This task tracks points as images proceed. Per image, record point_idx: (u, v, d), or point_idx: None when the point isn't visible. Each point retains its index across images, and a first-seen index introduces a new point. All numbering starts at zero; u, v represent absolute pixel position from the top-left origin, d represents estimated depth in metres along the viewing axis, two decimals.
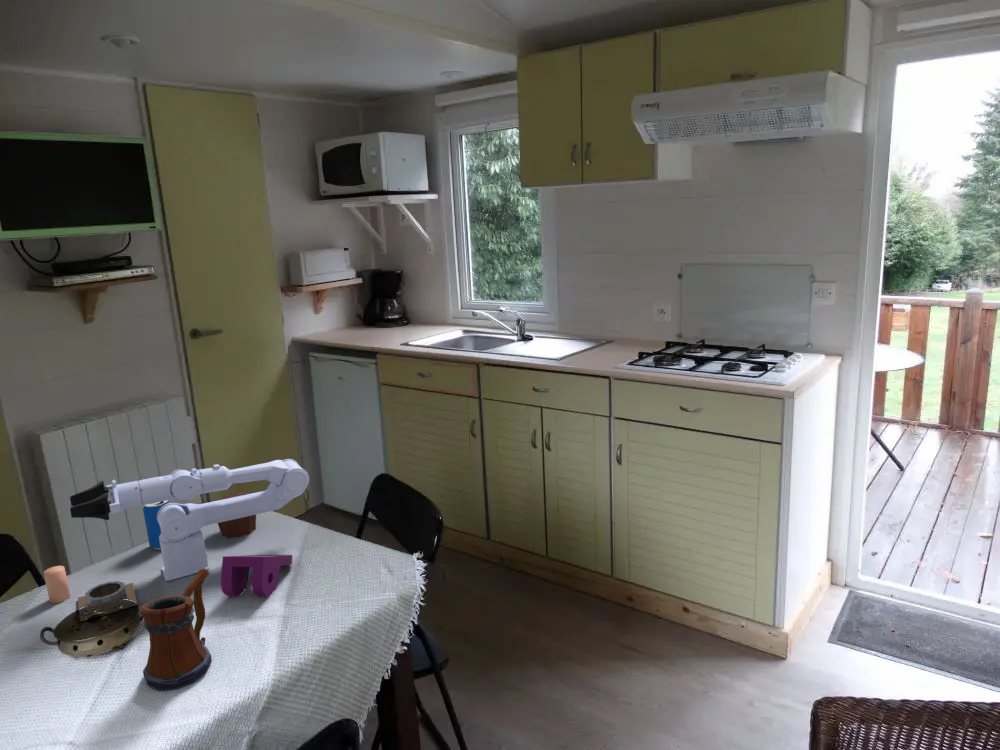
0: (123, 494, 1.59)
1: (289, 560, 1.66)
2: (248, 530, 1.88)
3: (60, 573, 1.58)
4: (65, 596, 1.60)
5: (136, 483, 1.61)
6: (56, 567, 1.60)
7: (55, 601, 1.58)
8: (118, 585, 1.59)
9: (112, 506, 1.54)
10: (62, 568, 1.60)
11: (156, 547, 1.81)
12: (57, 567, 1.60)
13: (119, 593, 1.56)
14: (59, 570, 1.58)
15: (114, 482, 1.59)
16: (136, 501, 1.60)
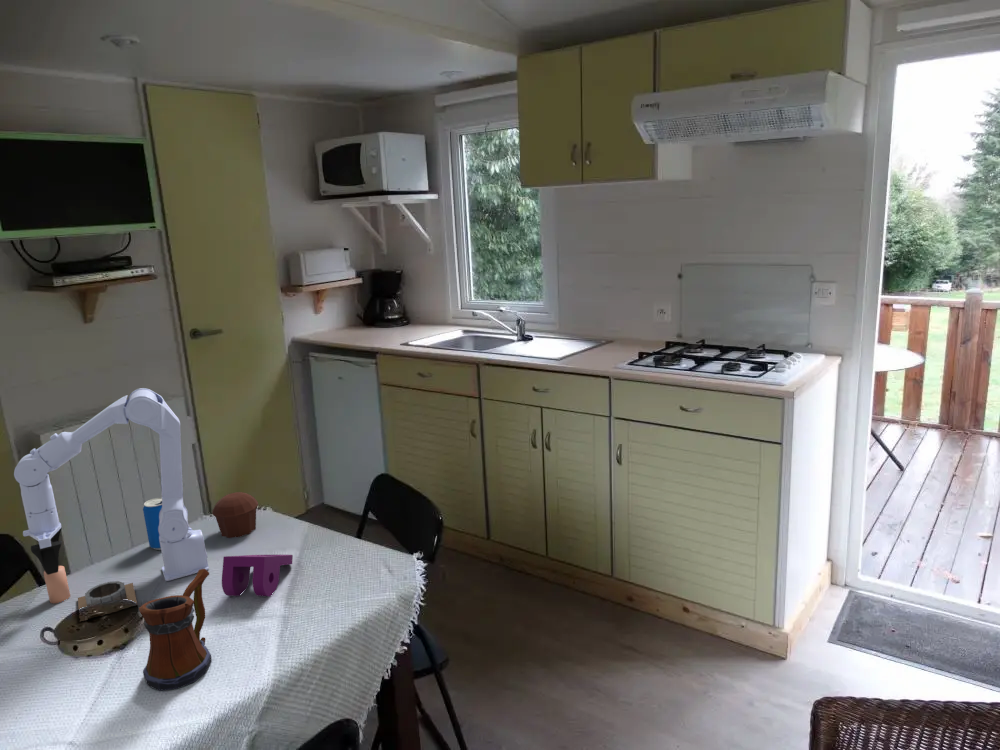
0: (36, 528, 1.54)
1: (290, 560, 1.66)
2: (248, 530, 1.88)
3: (60, 573, 1.58)
4: (65, 596, 1.60)
5: (26, 515, 1.54)
6: None
7: (55, 601, 1.58)
8: (118, 585, 1.59)
9: (41, 546, 1.51)
10: (62, 568, 1.60)
11: (156, 547, 1.81)
12: None
13: (119, 593, 1.56)
14: (59, 570, 1.58)
15: (23, 534, 1.54)
16: (46, 516, 1.54)
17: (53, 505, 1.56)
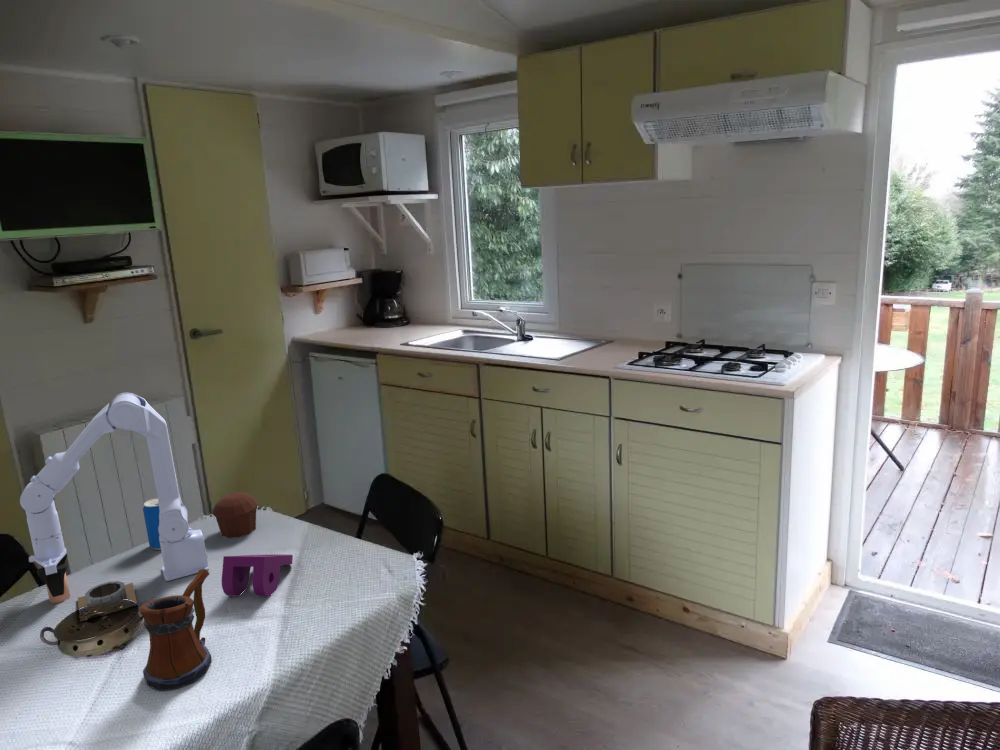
0: (42, 554, 1.55)
1: (290, 560, 1.66)
2: (248, 530, 1.88)
3: None
4: (65, 596, 1.60)
5: (32, 541, 1.55)
6: None
7: (55, 601, 1.58)
8: (118, 585, 1.59)
9: (47, 572, 1.52)
10: None
11: (156, 547, 1.81)
12: None
13: (119, 593, 1.56)
14: None
15: (29, 560, 1.56)
16: (51, 542, 1.55)
17: (59, 531, 1.57)
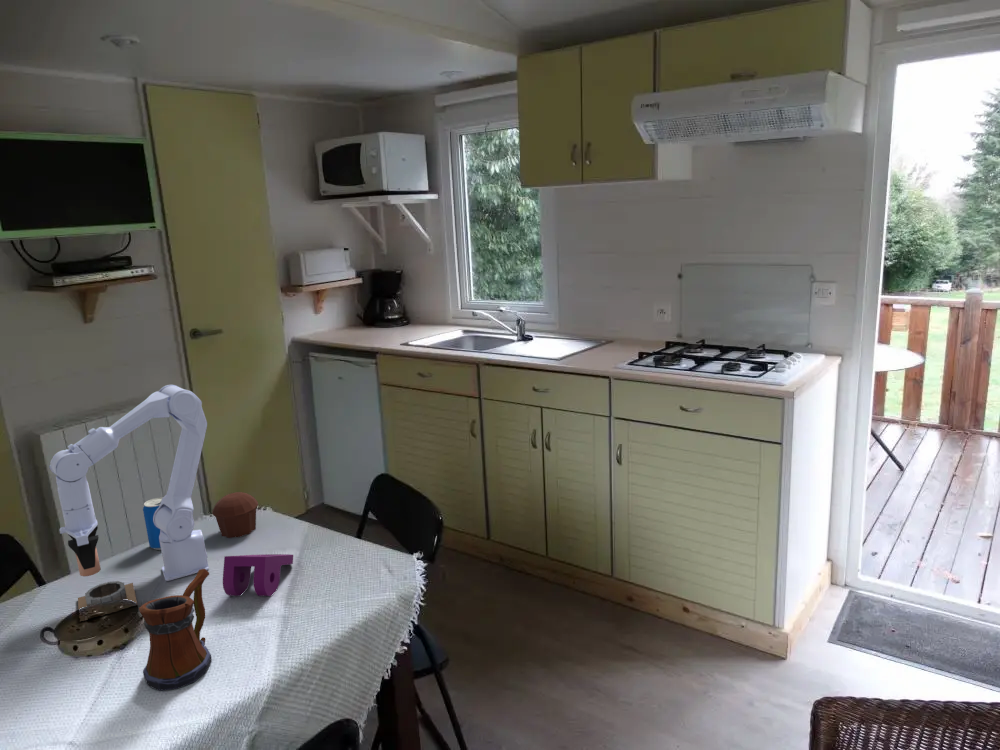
0: (73, 525, 1.51)
1: (290, 560, 1.66)
2: (248, 530, 1.88)
3: None
4: (95, 569, 1.55)
5: (62, 511, 1.51)
6: None
7: (85, 574, 1.54)
8: (118, 585, 1.59)
9: (78, 543, 1.48)
10: None
11: (156, 547, 1.81)
12: None
13: (119, 593, 1.56)
14: None
15: (60, 531, 1.52)
16: (82, 512, 1.51)
17: (91, 500, 1.54)
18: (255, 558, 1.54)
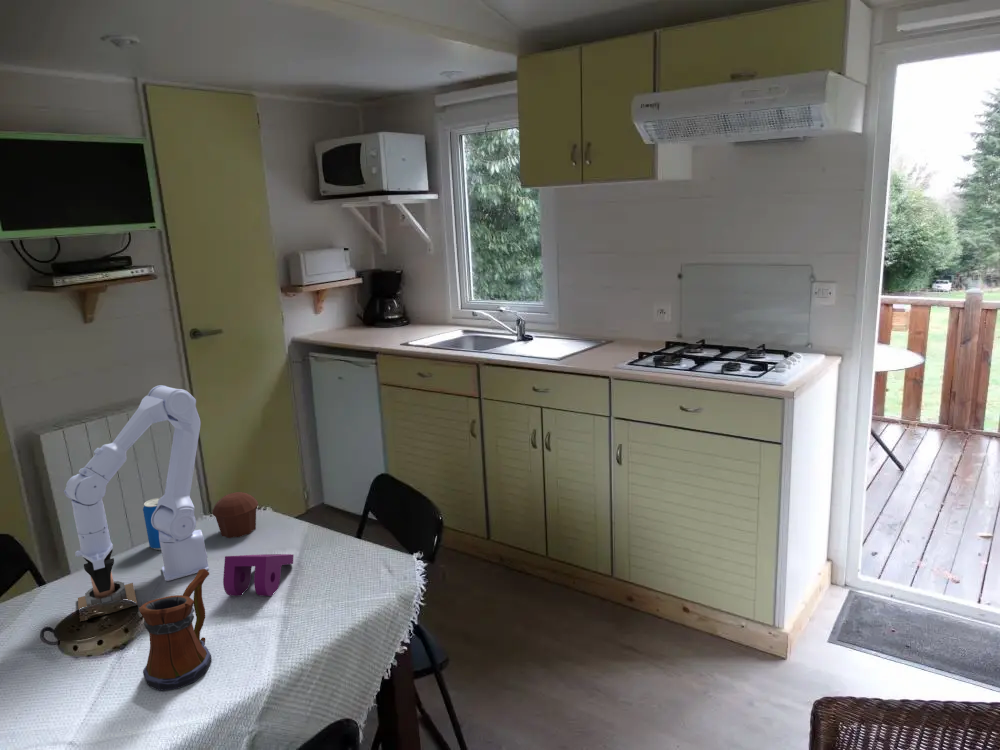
0: (89, 549, 1.51)
1: (291, 559, 1.66)
2: (248, 530, 1.88)
3: None
4: (110, 592, 1.56)
5: (78, 535, 1.51)
6: None
7: None
8: (118, 585, 1.59)
9: (95, 567, 1.48)
10: None
11: (156, 547, 1.81)
12: None
13: (119, 593, 1.56)
14: None
15: (76, 555, 1.52)
16: (98, 536, 1.52)
17: None
18: (256, 558, 1.54)
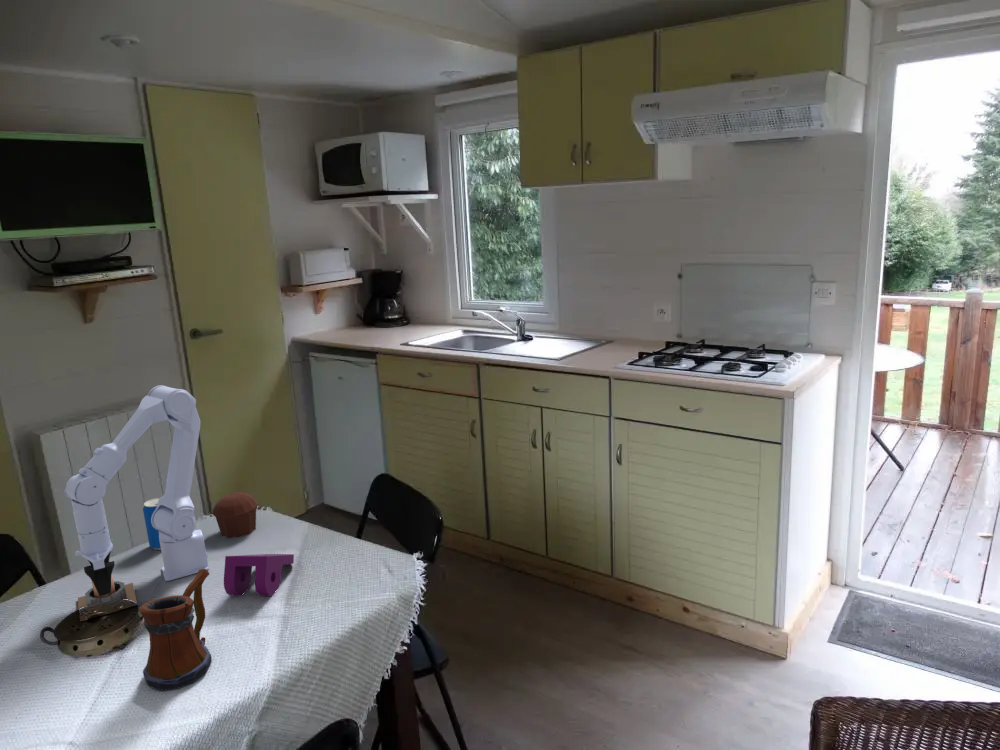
0: (89, 549, 1.51)
1: (291, 559, 1.66)
2: (248, 530, 1.88)
3: None
4: None
5: (78, 535, 1.51)
6: None
7: None
8: (118, 585, 1.59)
9: (95, 567, 1.48)
10: None
11: (156, 547, 1.81)
12: None
13: (119, 593, 1.56)
14: None
15: (76, 555, 1.52)
16: (98, 536, 1.52)
17: None
18: (256, 558, 1.54)
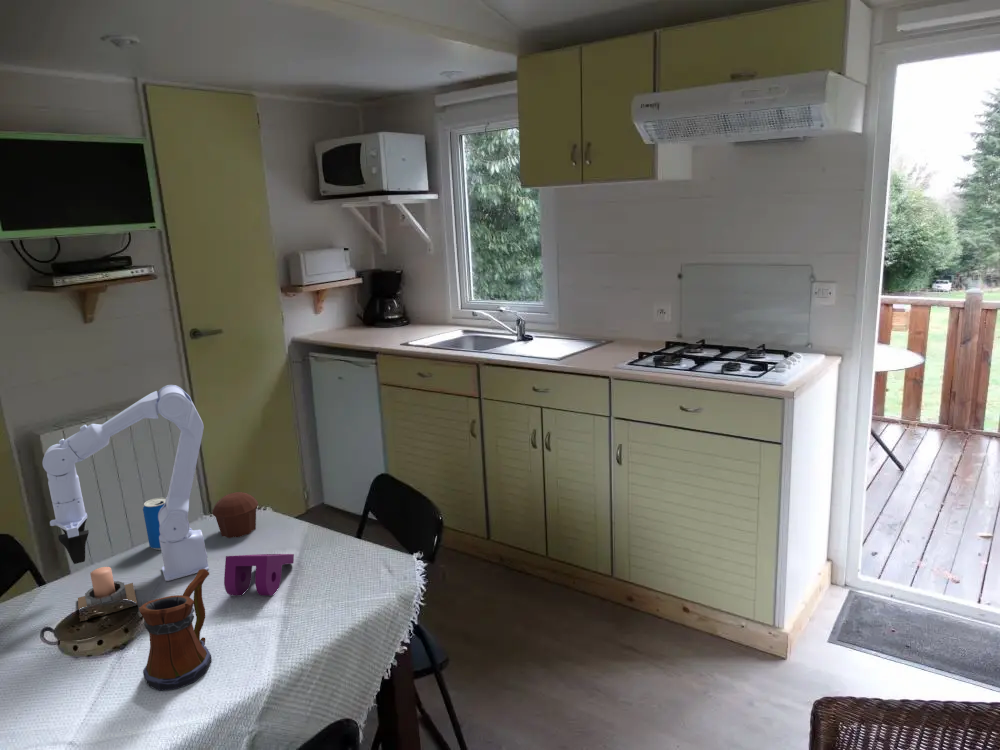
0: (63, 518, 1.55)
1: (291, 559, 1.66)
2: (248, 530, 1.88)
3: (107, 575, 1.55)
4: None
5: (53, 504, 1.54)
6: (103, 568, 1.57)
7: None
8: (118, 585, 1.59)
9: (69, 535, 1.51)
10: (109, 569, 1.56)
11: (156, 547, 1.81)
12: (104, 568, 1.57)
13: (119, 593, 1.56)
14: (106, 572, 1.55)
15: (50, 524, 1.55)
16: (73, 505, 1.55)
17: (80, 495, 1.57)
18: (257, 558, 1.54)
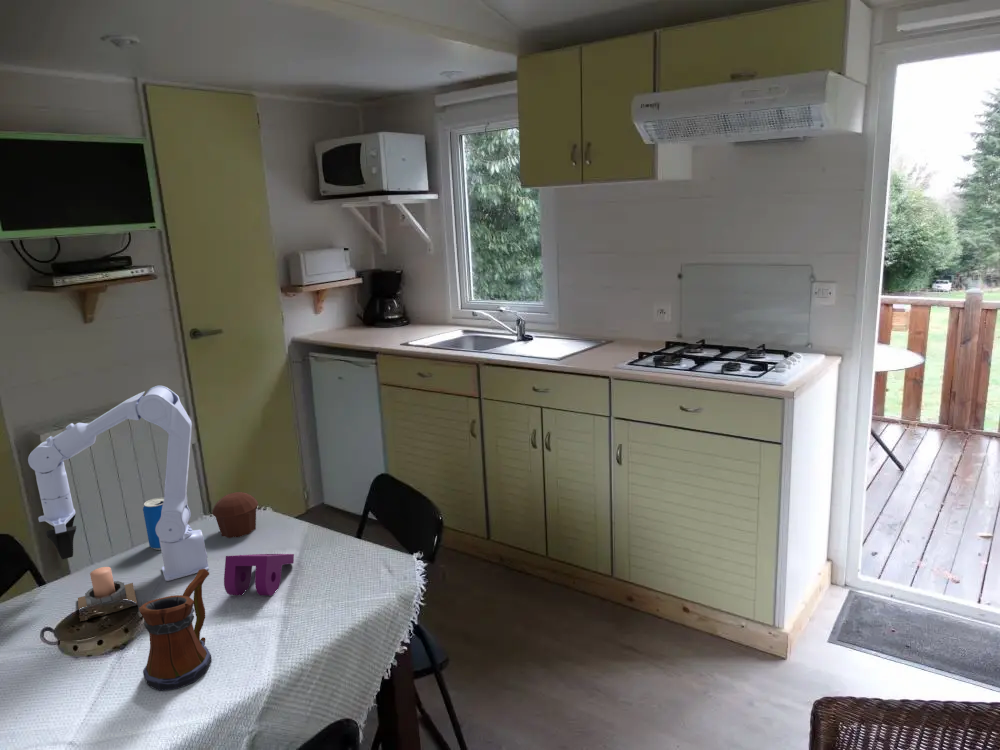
0: (52, 514, 1.57)
1: (291, 559, 1.67)
2: (248, 530, 1.88)
3: (107, 575, 1.55)
4: None
5: (41, 501, 1.57)
6: (102, 568, 1.57)
7: None
8: (118, 585, 1.59)
9: (56, 531, 1.54)
10: (109, 569, 1.56)
11: (156, 547, 1.81)
12: (103, 568, 1.57)
13: (119, 593, 1.56)
14: (106, 572, 1.55)
15: (39, 520, 1.58)
16: (61, 501, 1.58)
17: (66, 492, 1.59)
18: (256, 558, 1.54)
